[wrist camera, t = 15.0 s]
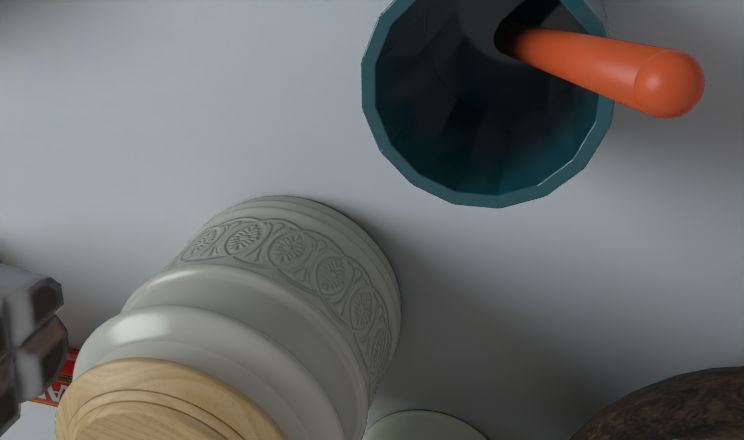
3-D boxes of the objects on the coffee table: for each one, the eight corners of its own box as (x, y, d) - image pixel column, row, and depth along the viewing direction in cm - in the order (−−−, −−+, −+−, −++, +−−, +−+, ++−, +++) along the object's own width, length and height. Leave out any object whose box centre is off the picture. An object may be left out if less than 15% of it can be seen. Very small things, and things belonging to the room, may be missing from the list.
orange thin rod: (486, 28, 31) (638, 69, 14) (517, 15, 31) (707, 41, 14) (496, 58, 31) (656, 134, 14) (526, 46, 31) (725, 107, 14)
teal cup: (391, -24, 32) (322, 17, 23) (573, -101, 29) (572, -86, 20) (454, 140, 34) (413, 232, 26) (626, 86, 31) (646, 170, 23)
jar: (154, 238, 42) (-88, 452, 27) (331, 151, 36) (154, 358, 21) (270, 403, 45) (115, 676, 30) (447, 347, 40) (367, 645, 25)
